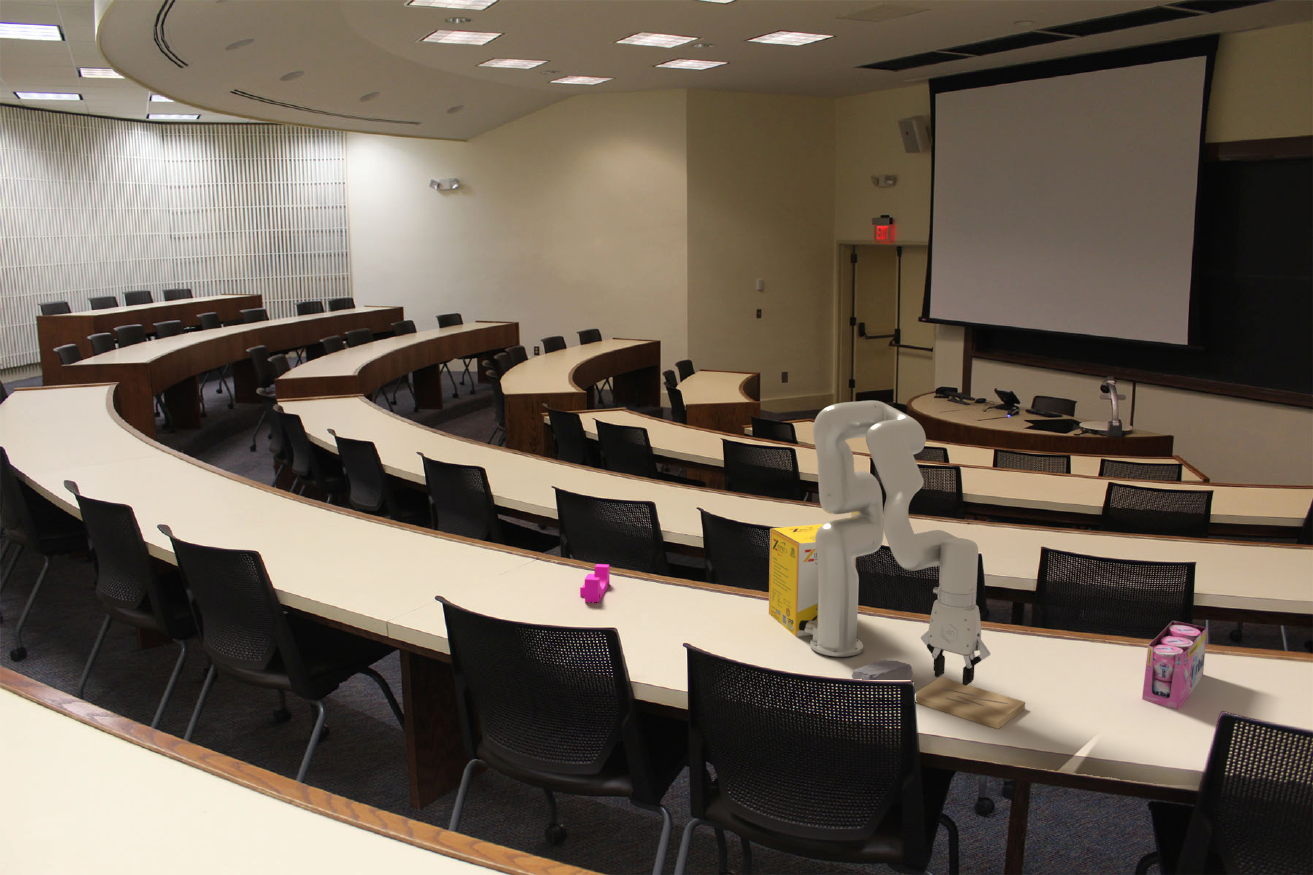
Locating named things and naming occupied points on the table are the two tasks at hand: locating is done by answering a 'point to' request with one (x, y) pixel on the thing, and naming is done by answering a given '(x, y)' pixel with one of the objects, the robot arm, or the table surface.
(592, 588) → the toy block
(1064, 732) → the table surface
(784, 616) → the packaging box
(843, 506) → the robot arm
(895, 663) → the stone block
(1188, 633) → the gum box
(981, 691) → the board
